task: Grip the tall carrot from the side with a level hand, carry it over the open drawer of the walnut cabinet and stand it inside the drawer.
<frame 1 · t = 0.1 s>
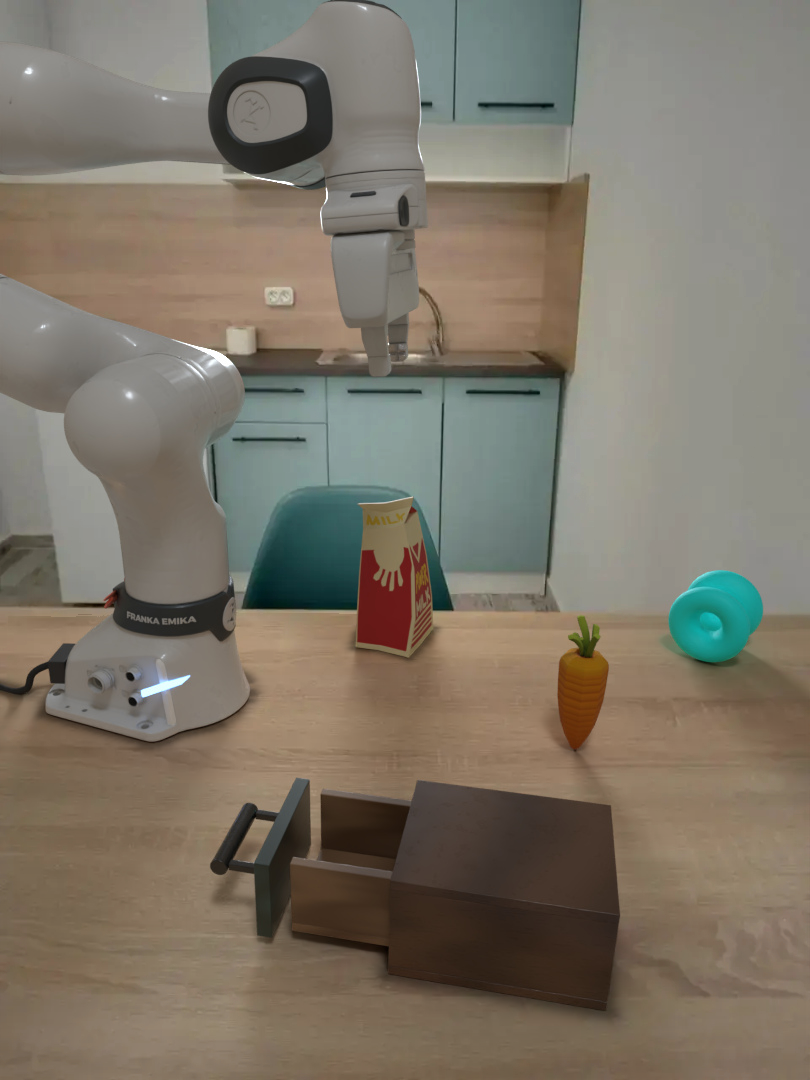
hand: (390, 368, 79), 39 cm above the table, tool pointing down, fingers open, 8 cm apart
drawer: (340, 861, 65), point 4 cm above the table, slide at 9.0 cm
milk carton: (390, 638, 111), on the table
carrot: (574, 750, 88), on the table
turquoise spool: (709, 650, 110), on the table
cabinet: (500, 929, 65), on the table
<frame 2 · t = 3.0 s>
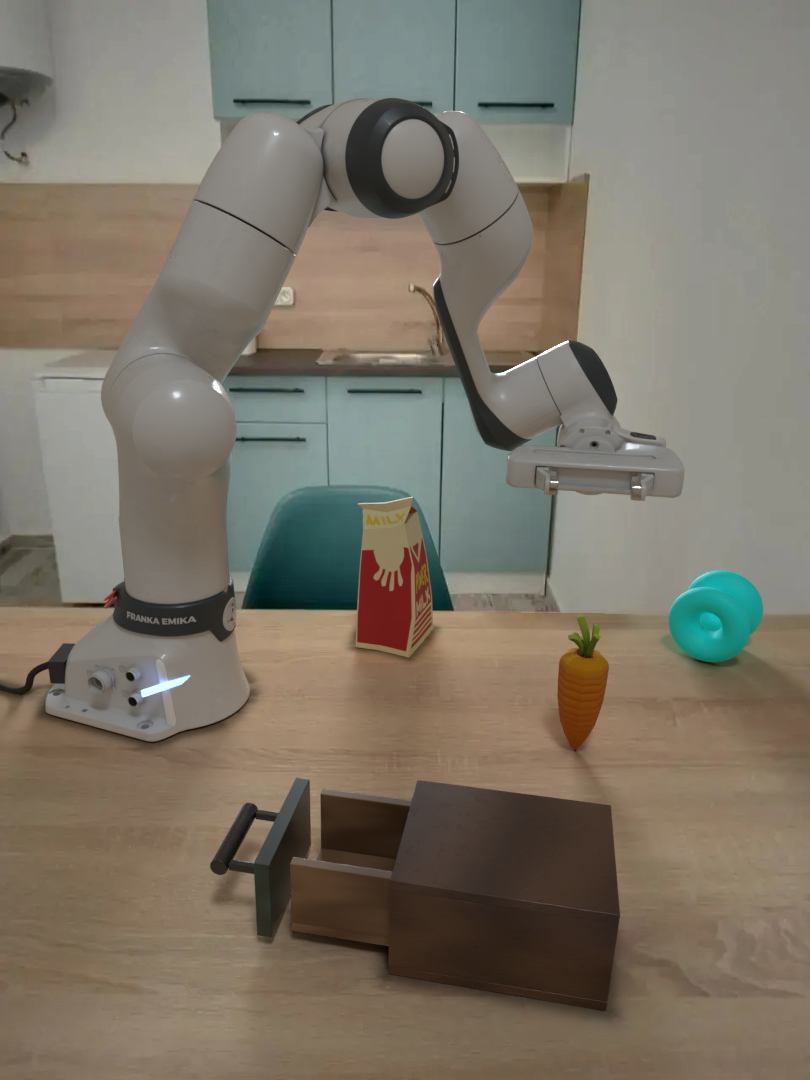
hand: (594, 491, 91), 25 cm above the table, tool horizontal, fingers open, 8 cm apart
nothing on the table moved.
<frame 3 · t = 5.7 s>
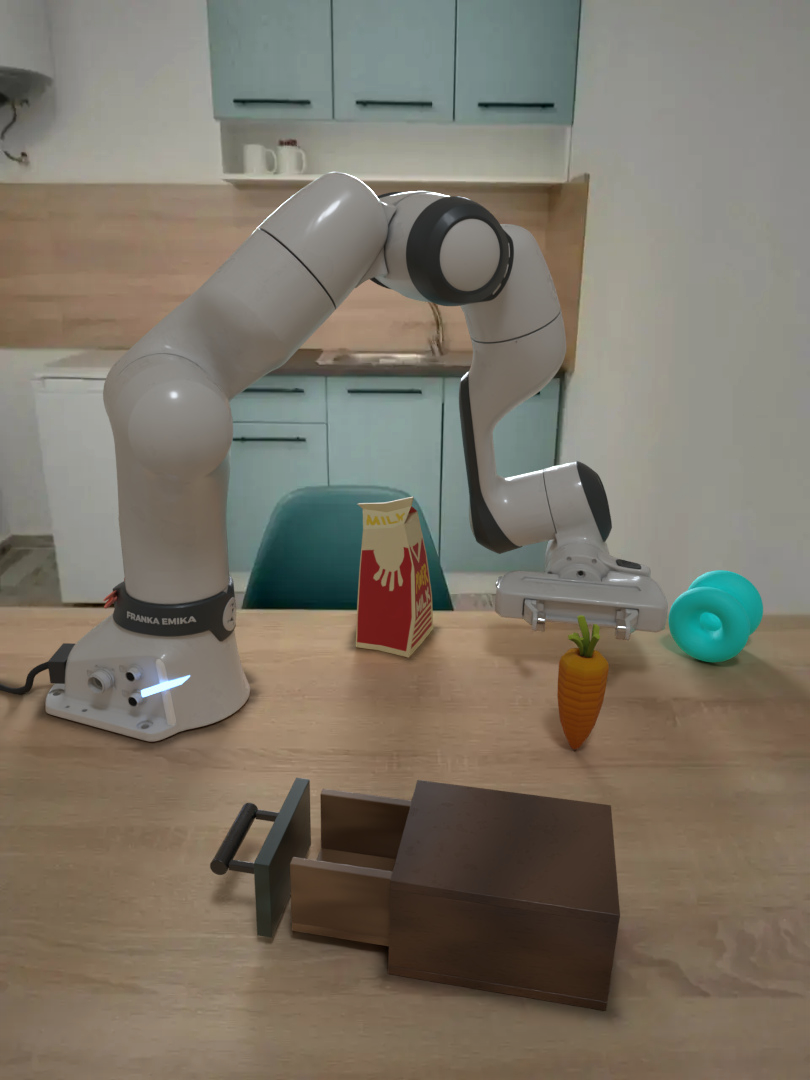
hand: (580, 629, 94), 9 cm above the table, tool horizontal, fingers open, 8 cm apart
nothing on the table moved.
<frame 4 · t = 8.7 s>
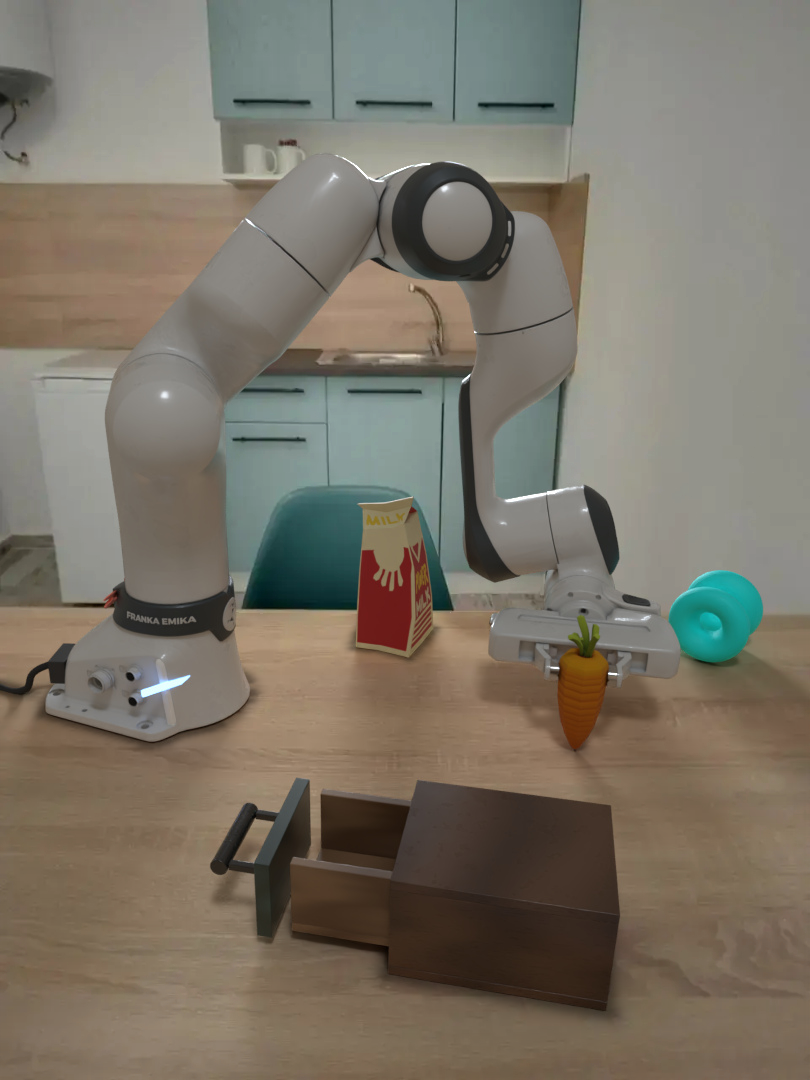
hand: (583, 678, 84), 9 cm above the table, tool horizontal, fingers closed on carrot, 5 cm apart
carrot: (574, 750, 88), on the table, touching gripper
everything else where it was.
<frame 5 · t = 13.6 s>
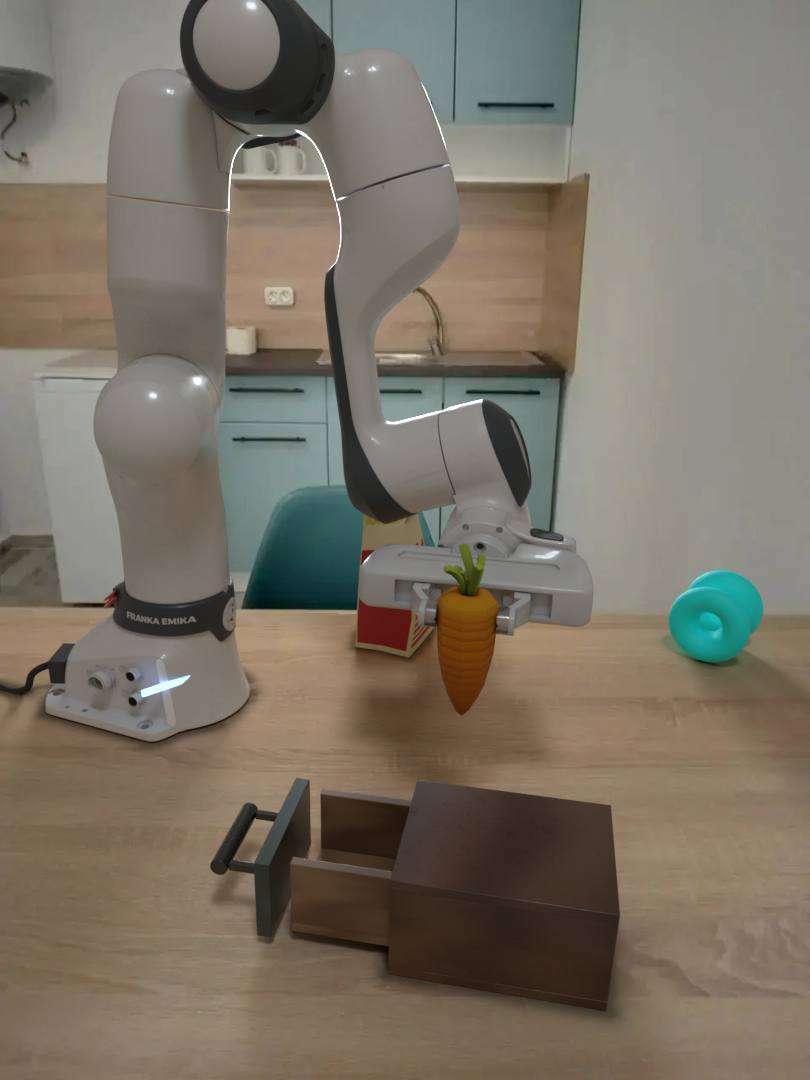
hand: (466, 623, 66), 22 cm above the table, tool horizontal, fingers closed on carrot, 5 cm apart
carrot: (461, 716, 70), point 13 cm above the table, touching gripper
everything else where it was.
when the fingers open (11 cm above the table, at t = 18.6 s): carrot stays where it is, resting on drawer.
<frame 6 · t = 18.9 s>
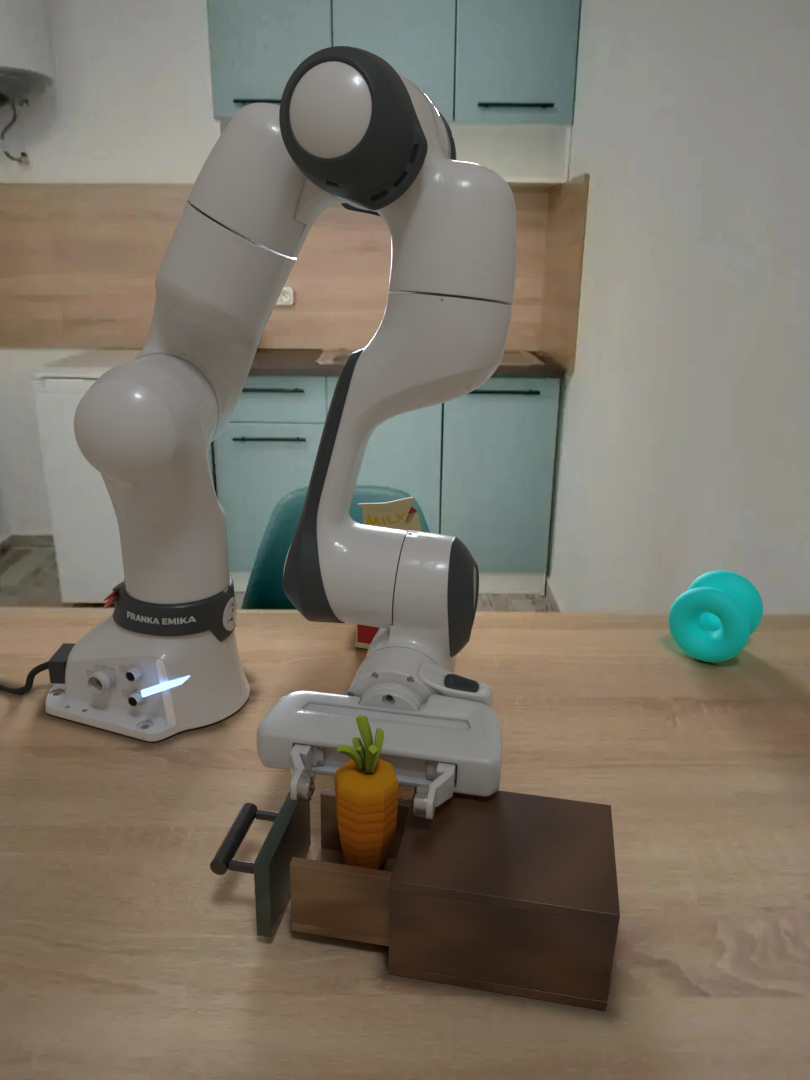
hand: (360, 802, 62), 11 cm above the table, tool horizontal, fingers open, 8 cm apart
drawer: (340, 861, 65), point 4 cm above the table, slide at 9.0 cm, touching carrot
carrot: (365, 889, 66), point 2 cm above the table, touching drawer
everything else where it was.
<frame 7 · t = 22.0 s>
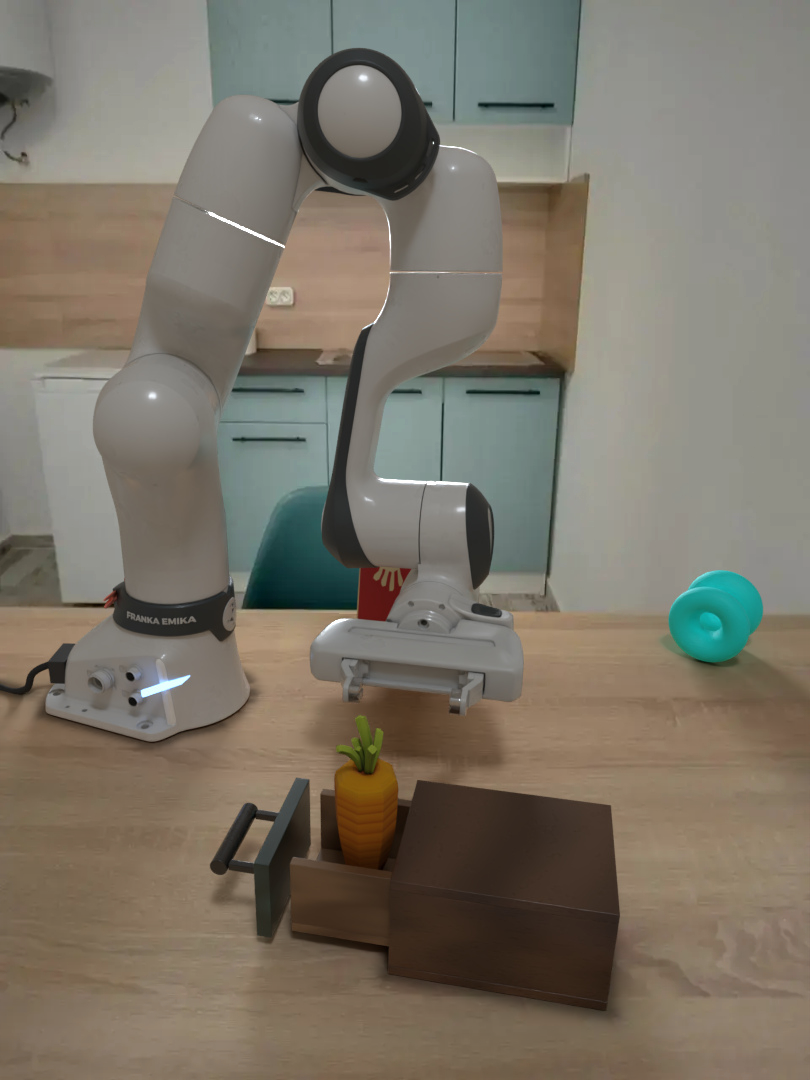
hand: (403, 702, 72), 12 cm above the table, tool horizontal, fingers open, 8 cm apart
nothing on the table moved.
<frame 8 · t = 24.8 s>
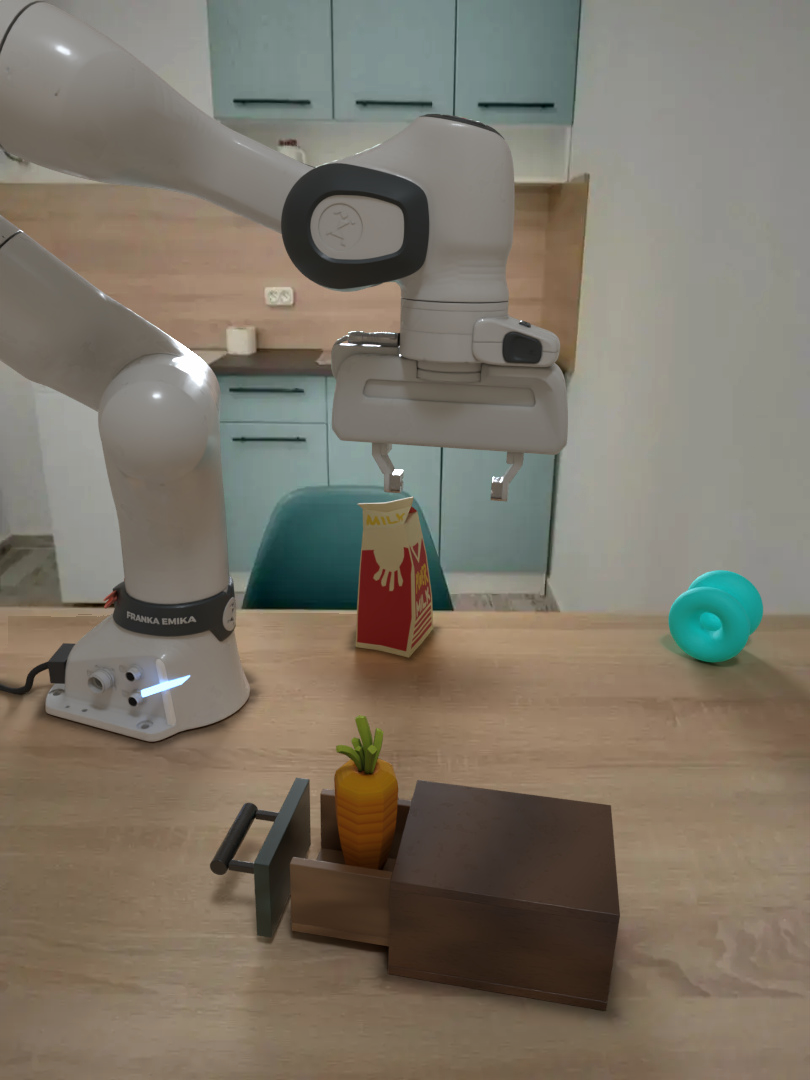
hand: (445, 495, 73), 29 cm above the table, tool pointing down, fingers open, 8 cm apart
nothing on the table moved.
at the end: carrot inside the target area in the drawer (0.2 cm from its centre), point 1.8 cm above the cabinet's base; carrot tilted 0°; the gripper is holding nothing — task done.
